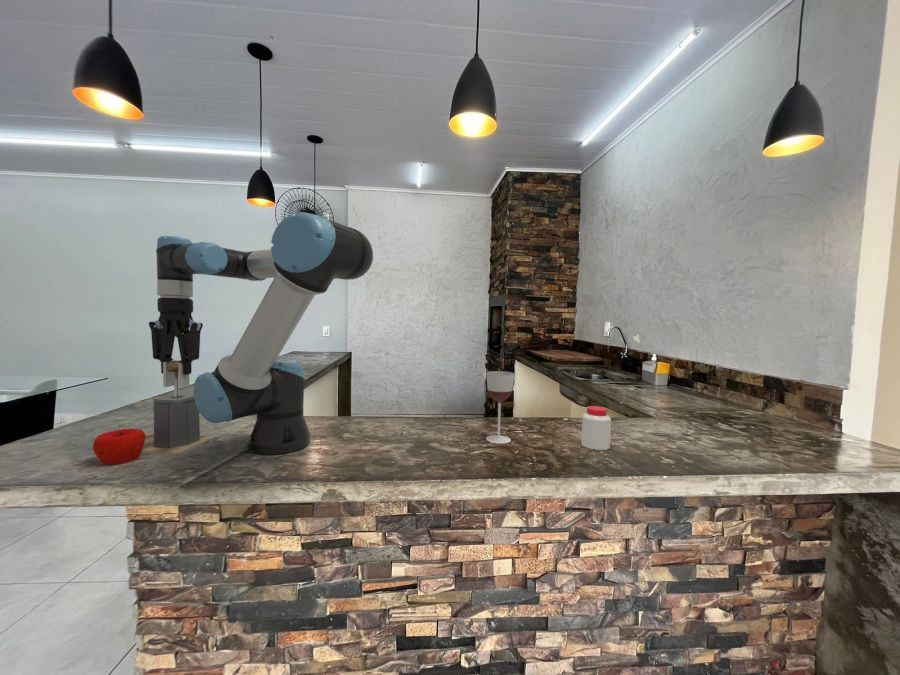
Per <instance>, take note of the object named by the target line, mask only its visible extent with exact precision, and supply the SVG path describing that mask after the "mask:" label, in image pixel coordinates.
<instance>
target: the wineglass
mask: <svg viewBox="0 0 900 675" xmlns="http://www.w3.org/2000/svg"><path fill="white" fill-rule="evenodd" d="M514 381H515V373H514V372H510V371H503V370H502V371H500V370H499V371H497V370H495V371H494V370H493V371H492V370H491V371H487V372H486V385H487V388H486V389H487V392H488V395H489V396H490V398H491V399H492V400H494V401H496V402H497V407H498V408H497V433H496V434H497V435H496V434H494V435H489V436H487V437H485V440H486V441H487V442H490V443H493V444H508V443H511V442H512V440H511V439H512V438H510V437H508V436H505V435H501V410H502V409H501V408H502V403H503V402H504V401H506V400H507V399H509V398H510V397H511V396H512V392H513V389H514Z"/></svg>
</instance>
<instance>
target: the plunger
mask: <svg viewBox="0 0 900 675" xmlns="http://www.w3.org/2000/svg"><path fill="white" fill-rule="evenodd" d="M179 361H181V359H179V360H177V359H176V360H174V359H173V360H172V361H168V372H174V394H175V398H179V394H180V393H179V392H180V391H179V390H180V389H179V377H178V363H180V362H179Z"/></svg>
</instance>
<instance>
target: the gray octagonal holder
mask: <svg viewBox="0 0 900 675" xmlns="http://www.w3.org/2000/svg"><path fill="white" fill-rule="evenodd" d="M152 401H153V405H152V407H153V408H152V410H153V433H154V447H156V448H174V447H180V446H186V445H190V444H192V443H194V442H197V441H199V440H200V436H201V434H200V430H201V429H200V426H201V425H200V423H201V422H200V412H199V411H198V409H197V406H196V404H195V399H194V394H182V393H179V398H175V393H173V394H170V395H166V396H162V397H157V398H153V400H152Z"/></svg>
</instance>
